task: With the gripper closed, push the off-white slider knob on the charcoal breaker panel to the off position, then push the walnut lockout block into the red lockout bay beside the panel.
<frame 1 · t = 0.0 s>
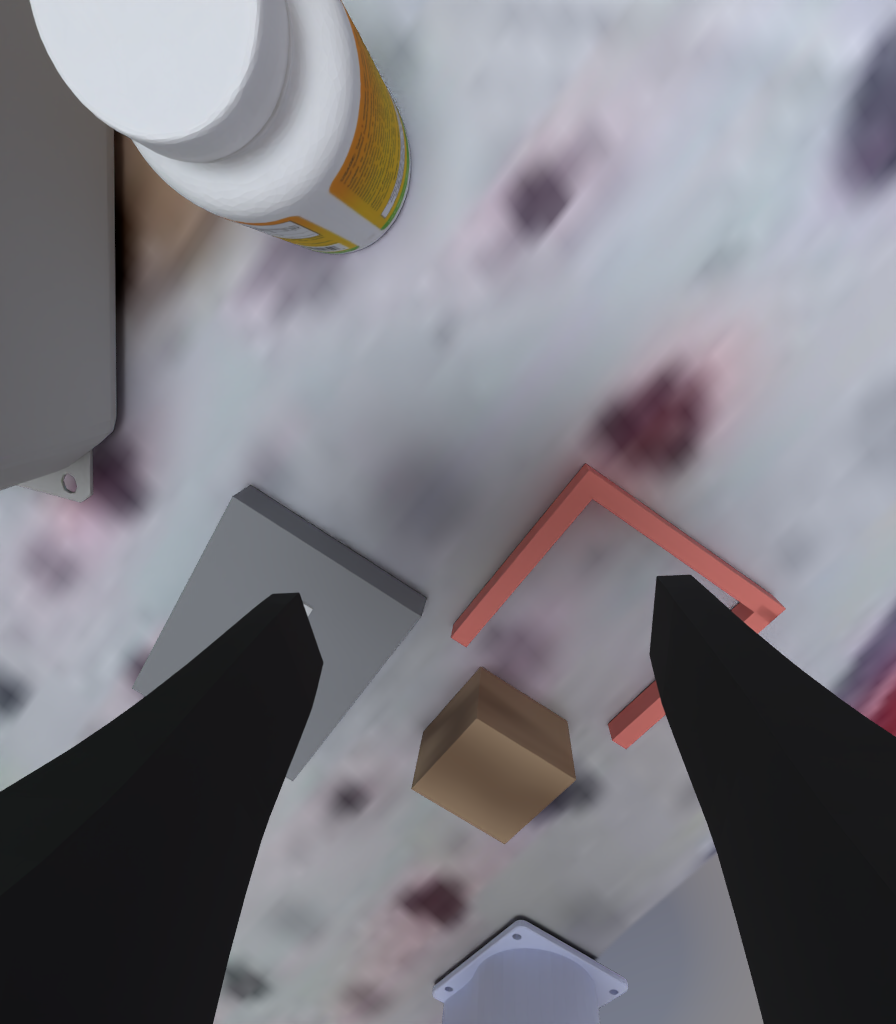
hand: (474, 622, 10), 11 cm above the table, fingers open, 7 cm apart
lockout block: (493, 724, 25), on the table
supplement bottle 2: (336, 168, 17), on the table
lockout bay: (602, 614, 22), on the table
breaker panel: (280, 635, 24), on the table
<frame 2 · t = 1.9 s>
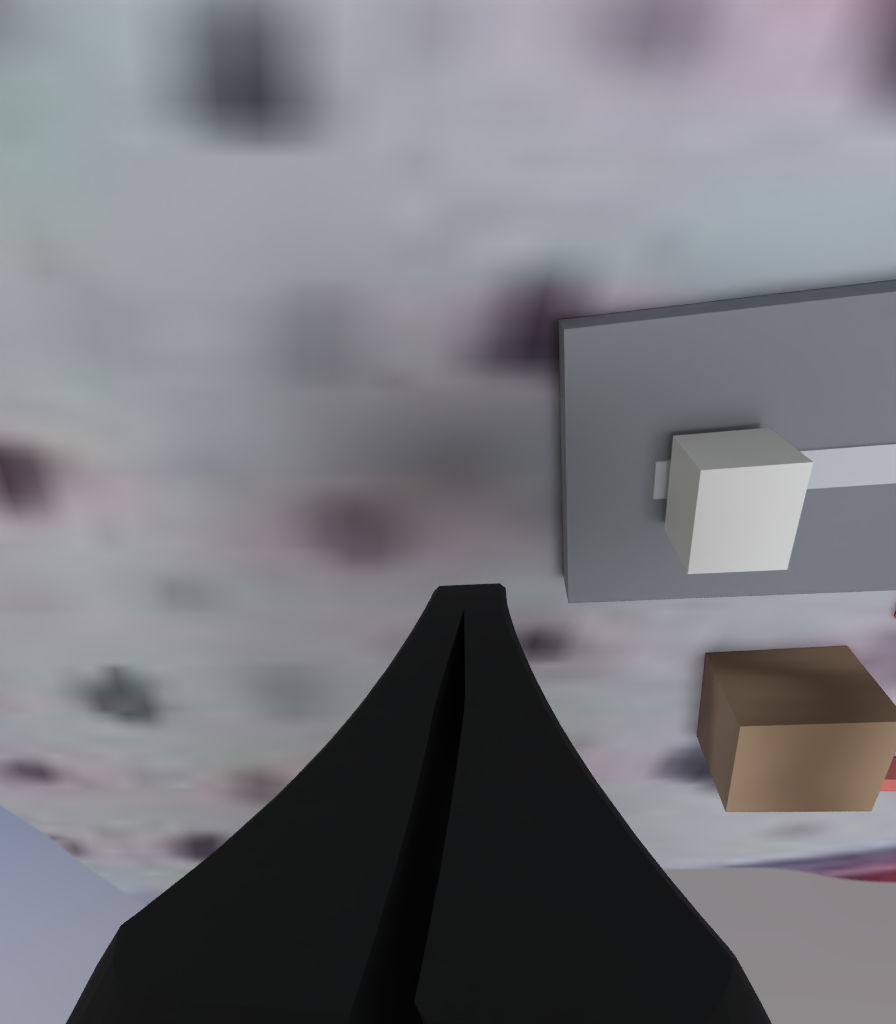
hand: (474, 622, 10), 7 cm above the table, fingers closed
lockout block: (764, 690, 21), on the table
breaker panel: (760, 449, 16), on the table
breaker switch: (728, 500, 13), point 3 cm above the table, slide at 0.0 cm
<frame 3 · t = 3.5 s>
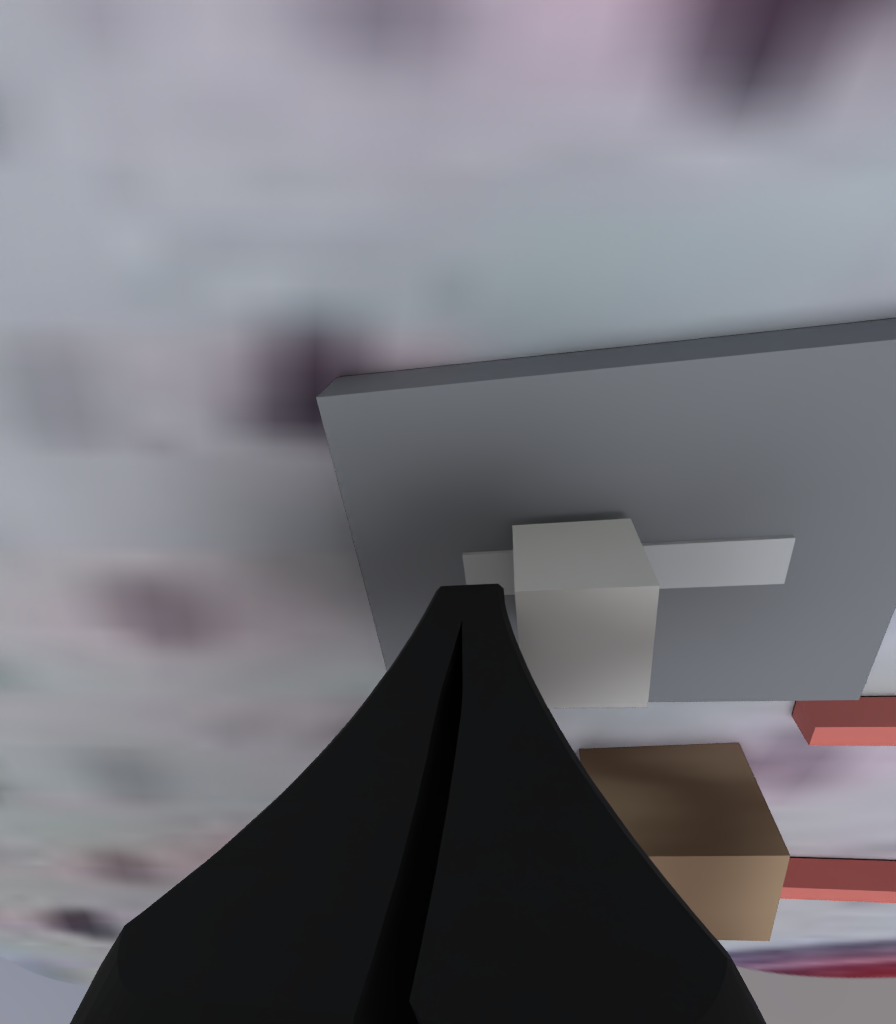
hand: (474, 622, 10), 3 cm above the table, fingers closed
lockout block: (655, 786, 18), on the table
breaker panel: (607, 531, 13), on the table
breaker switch: (577, 612, 10), point 3 cm above the table, slide at 0.9 cm, touching gripper
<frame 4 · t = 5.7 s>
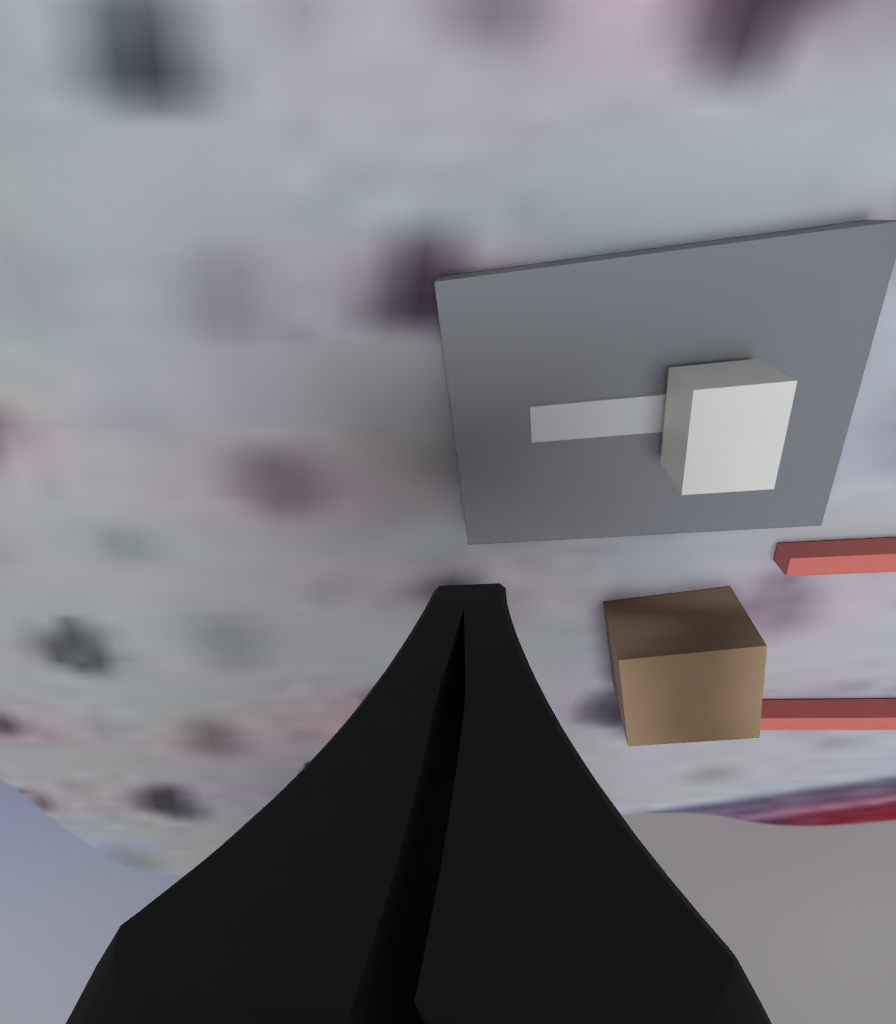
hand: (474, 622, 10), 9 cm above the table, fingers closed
lockout block: (666, 635, 22), on the table
lockout bay: (869, 633, 21), on the table
breaker panel: (633, 399, 17), on the table
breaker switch: (720, 426, 14), point 3 cm above the table, slide at 3.7 cm
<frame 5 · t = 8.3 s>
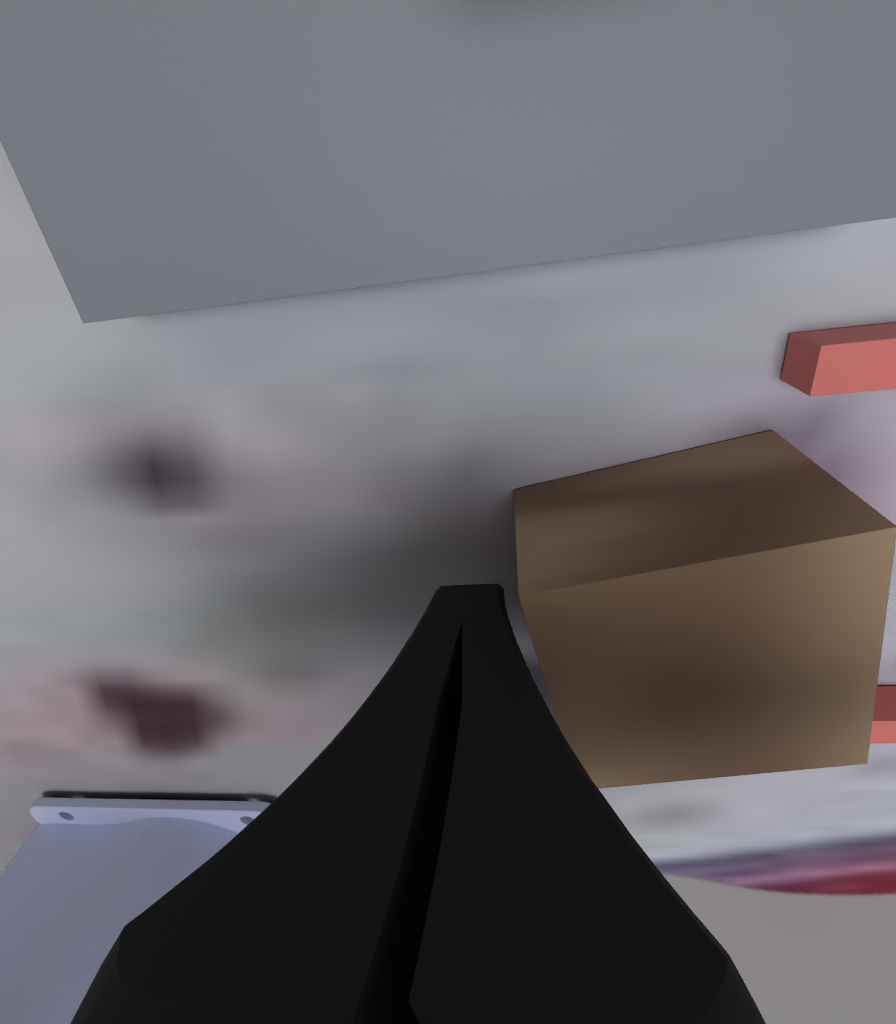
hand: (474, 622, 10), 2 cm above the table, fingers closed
lockout block: (650, 560, 11), on the table, touching gripper
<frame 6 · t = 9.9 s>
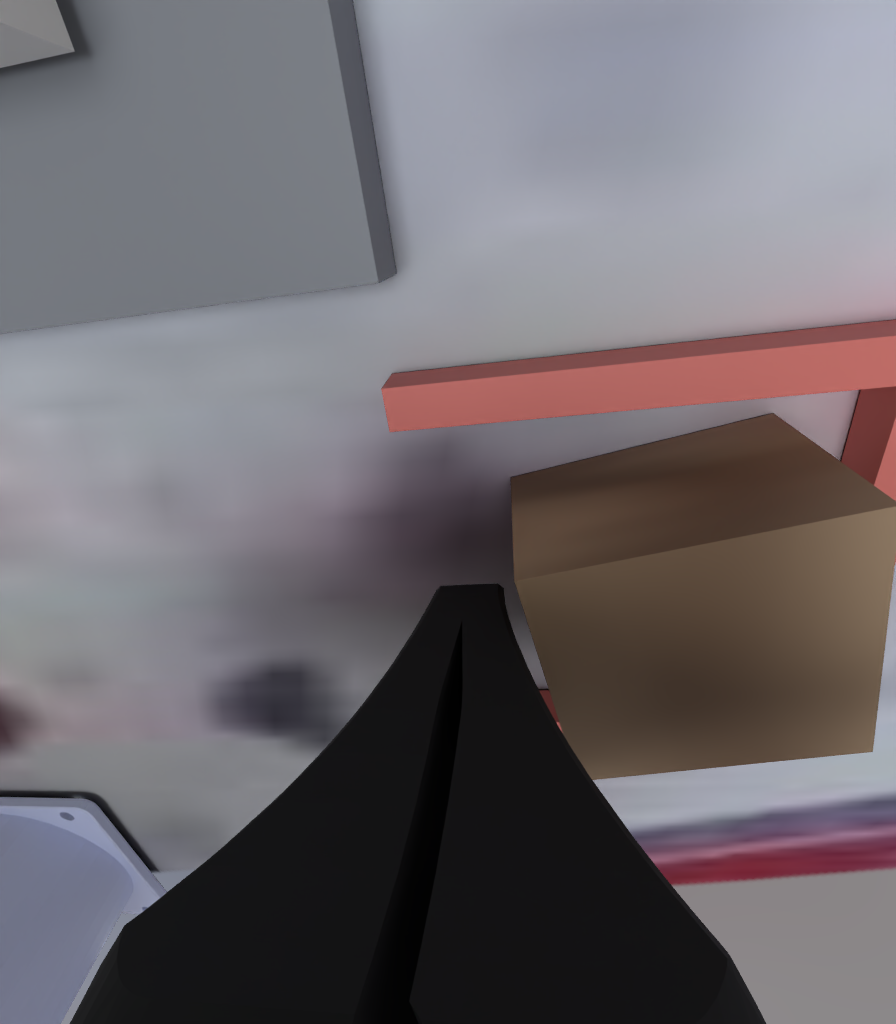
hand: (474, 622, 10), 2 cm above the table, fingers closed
lockout block: (650, 549, 11), resting in lockout bay, touching gripper
lockout bay: (620, 566, 11), on the table
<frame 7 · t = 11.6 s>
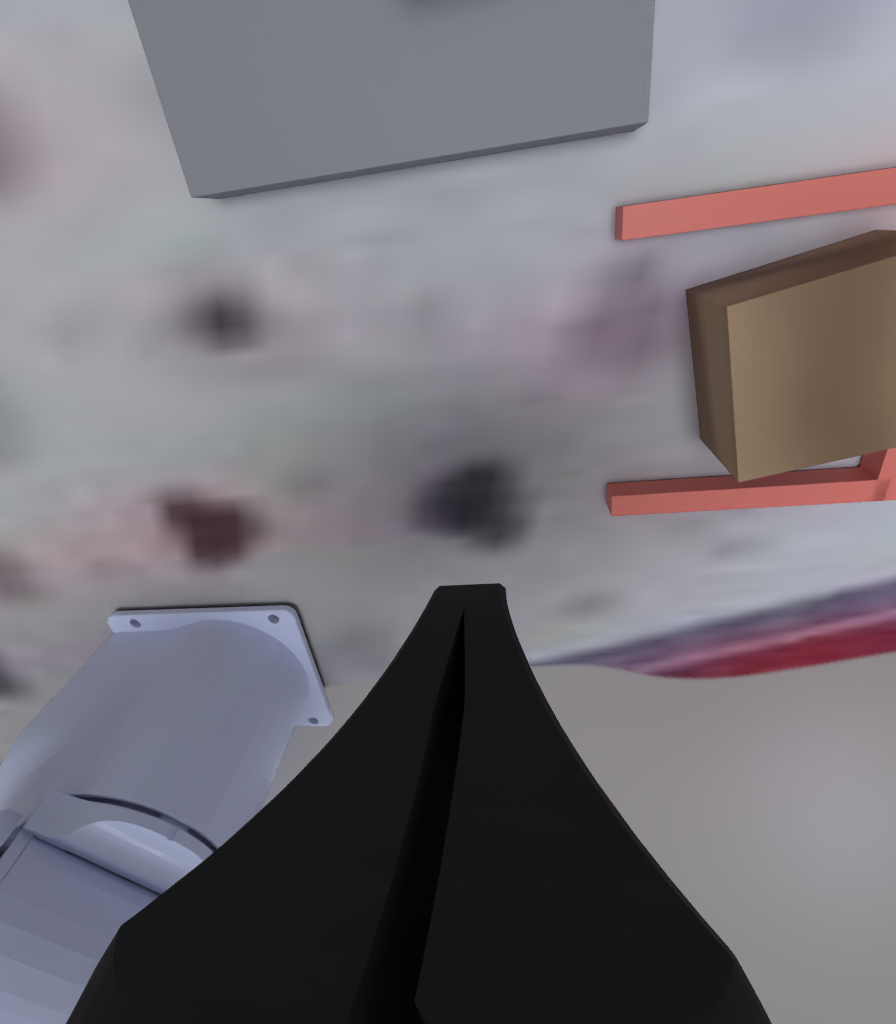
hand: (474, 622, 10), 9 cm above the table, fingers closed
lockout block: (776, 344, 16), resting in lockout bay
lockout bay: (754, 361, 16), on the table
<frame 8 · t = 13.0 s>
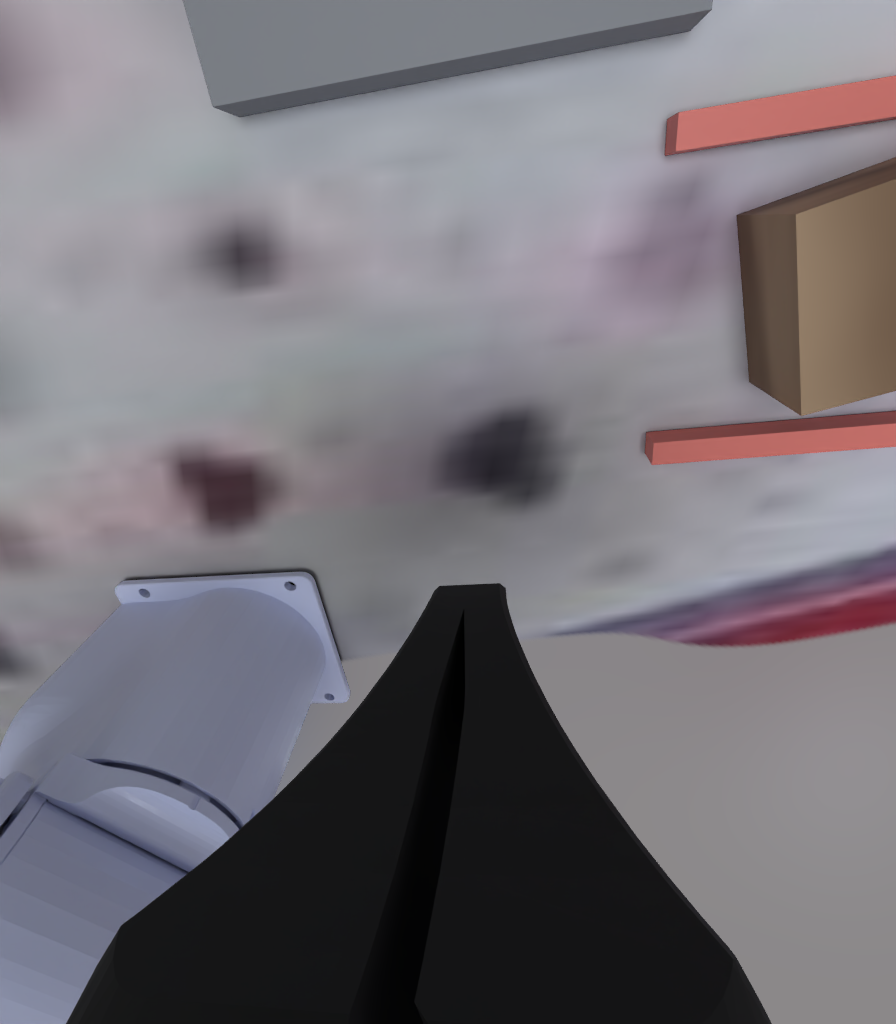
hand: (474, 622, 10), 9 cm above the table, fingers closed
lockout block: (832, 274, 15), resting in lockout bay
lockout bay: (808, 292, 15), on the table
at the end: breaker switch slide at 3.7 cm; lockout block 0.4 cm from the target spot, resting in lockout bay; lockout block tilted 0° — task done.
